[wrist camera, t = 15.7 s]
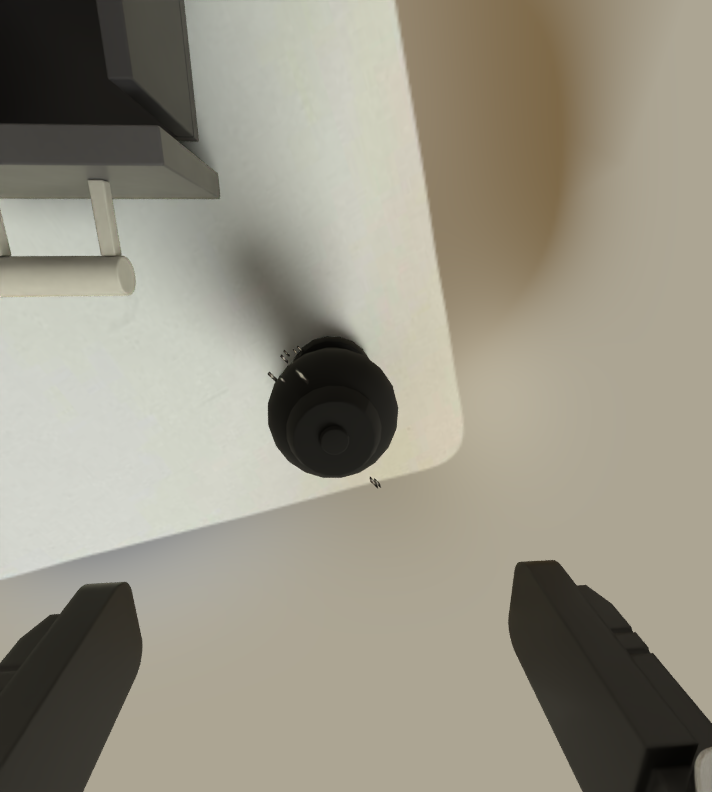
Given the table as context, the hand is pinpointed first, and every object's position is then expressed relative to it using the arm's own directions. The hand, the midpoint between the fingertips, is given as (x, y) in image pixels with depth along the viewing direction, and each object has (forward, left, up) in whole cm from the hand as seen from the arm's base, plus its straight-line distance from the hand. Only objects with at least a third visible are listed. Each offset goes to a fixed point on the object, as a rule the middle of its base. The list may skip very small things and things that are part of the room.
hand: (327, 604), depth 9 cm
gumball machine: (0, 0, -18) cm, 18 cm away
